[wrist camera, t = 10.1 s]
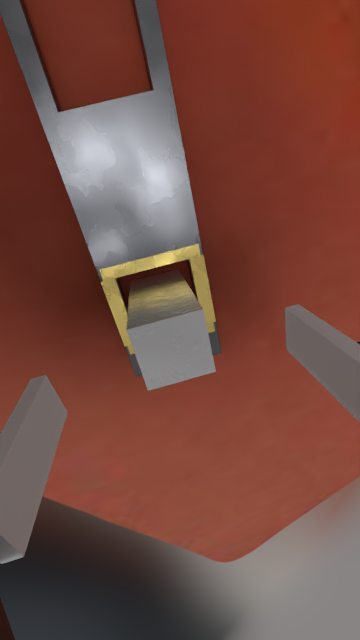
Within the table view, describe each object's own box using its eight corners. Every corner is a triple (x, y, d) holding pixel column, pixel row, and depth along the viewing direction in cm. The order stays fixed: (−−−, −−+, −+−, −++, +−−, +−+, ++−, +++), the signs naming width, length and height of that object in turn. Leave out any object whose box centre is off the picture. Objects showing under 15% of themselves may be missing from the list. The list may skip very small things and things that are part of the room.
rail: (-41, -111, 14) (-59, -143, 13) (124, -144, 14) (123, -177, 13) (136, 369, 28) (136, 377, 26) (218, 346, 28) (221, 353, 27)
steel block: (130, 281, 24) (126, 329, 15) (178, 268, 24) (203, 309, 15) (144, 324, 26) (148, 390, 17) (188, 312, 26) (215, 371, 17)
